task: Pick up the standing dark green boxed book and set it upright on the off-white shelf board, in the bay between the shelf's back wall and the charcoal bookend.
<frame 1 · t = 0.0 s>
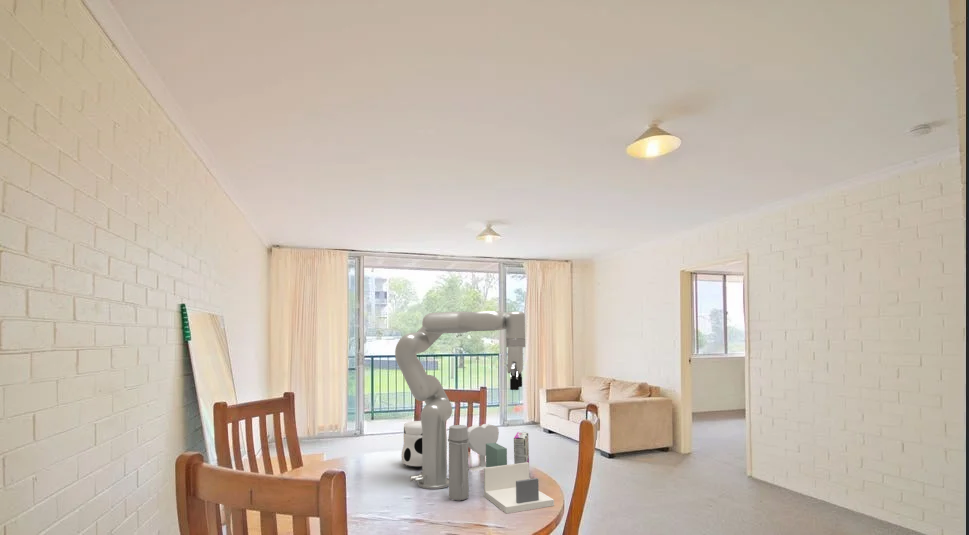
hand: (516, 388, 203), 37 cm above the table, tool pointing down, fingers open, 9 cm apart
shelf: (518, 500, 186), on the table
milk container: (421, 466, 233), on the table
candy bar box: (521, 476, 216), on the table
water bottle: (459, 499, 188), on the table
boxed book: (496, 486, 203), on the table
heart sculpture: (482, 468, 229), on the table
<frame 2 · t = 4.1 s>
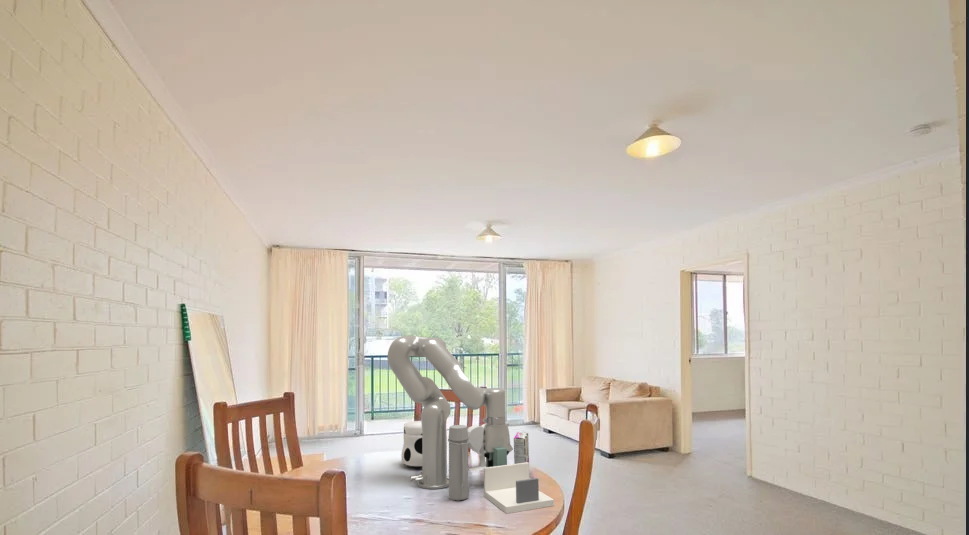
hand: (496, 469, 203), 6 cm above the table, tool pointing down, fingers closed on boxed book, 4 cm apart
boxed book: (496, 486, 203), on the table, touching gripper
everything else where it was.
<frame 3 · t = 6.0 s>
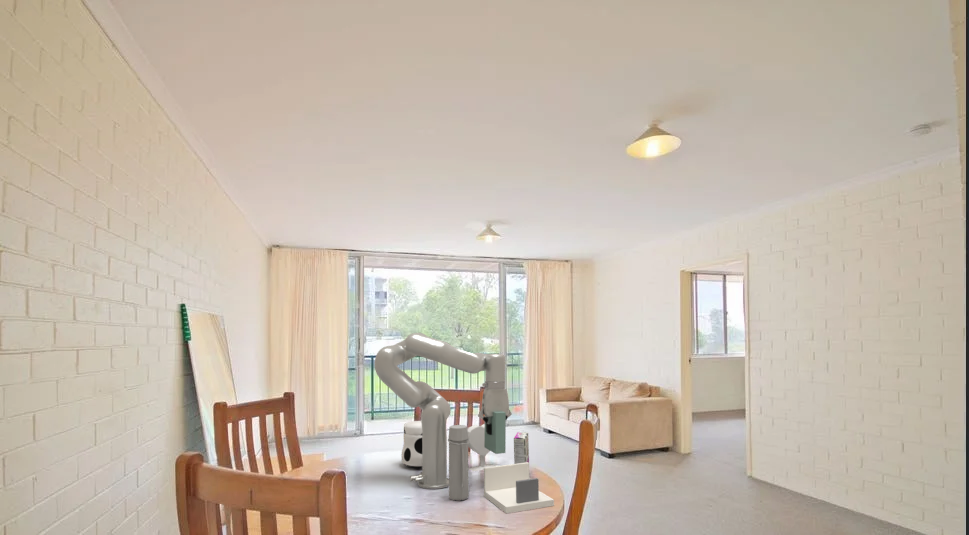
hand: (494, 433, 205), 20 cm above the table, tool pointing down, fingers closed on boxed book, 4 cm apart
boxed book: (494, 450, 204), point 13 cm above the table, touching gripper
everything else where it was.
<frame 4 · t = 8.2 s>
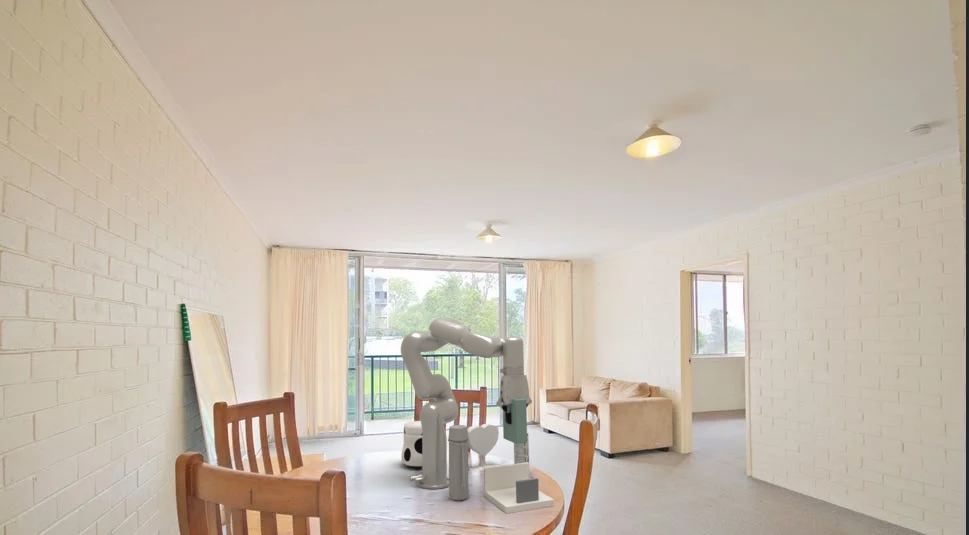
hand: (514, 422, 190), 27 cm above the table, tool pointing down, fingers closed on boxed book, 4 cm apart
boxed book: (515, 440, 190), point 20 cm above the table, touching gripper
everything else where it was.
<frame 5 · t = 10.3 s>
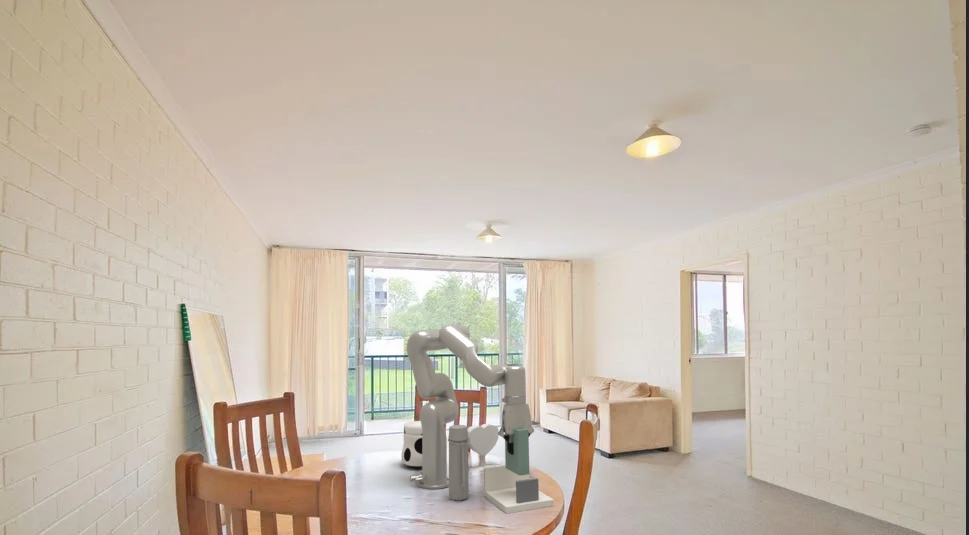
hand: (516, 452, 188), 16 cm above the table, tool pointing down, fingers closed on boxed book, 4 cm apart
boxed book: (517, 470, 188), point 10 cm above the table, touching gripper
everything else where it was.
when the fingers open (10 cm above the table, at t = 12.3 s): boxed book drops 1 cm, resting on shelf.
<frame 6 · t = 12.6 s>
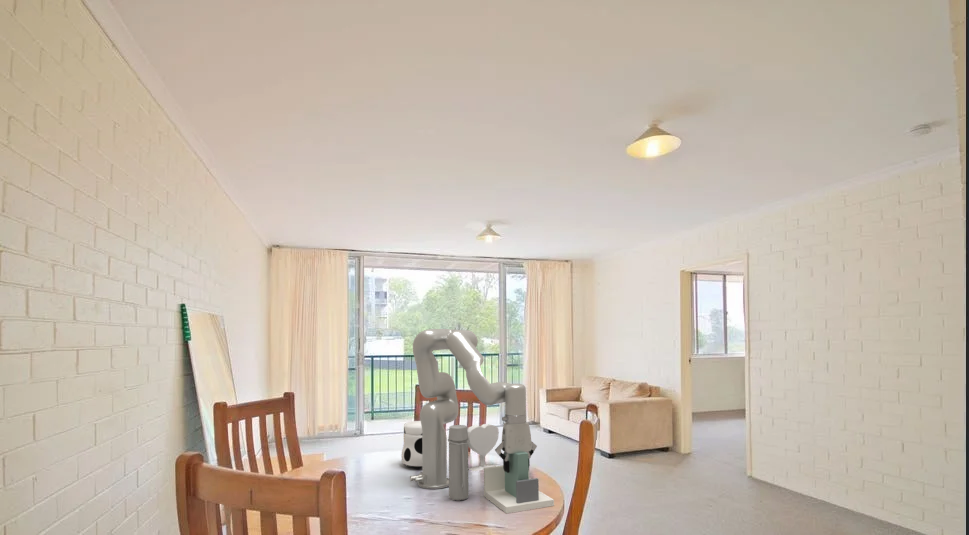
hand: (516, 470, 188), 10 cm above the table, tool pointing down, fingers open, 7 cm apart
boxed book: (516, 494, 187), point 2 cm above the table, touching shelf
everything else where it was.
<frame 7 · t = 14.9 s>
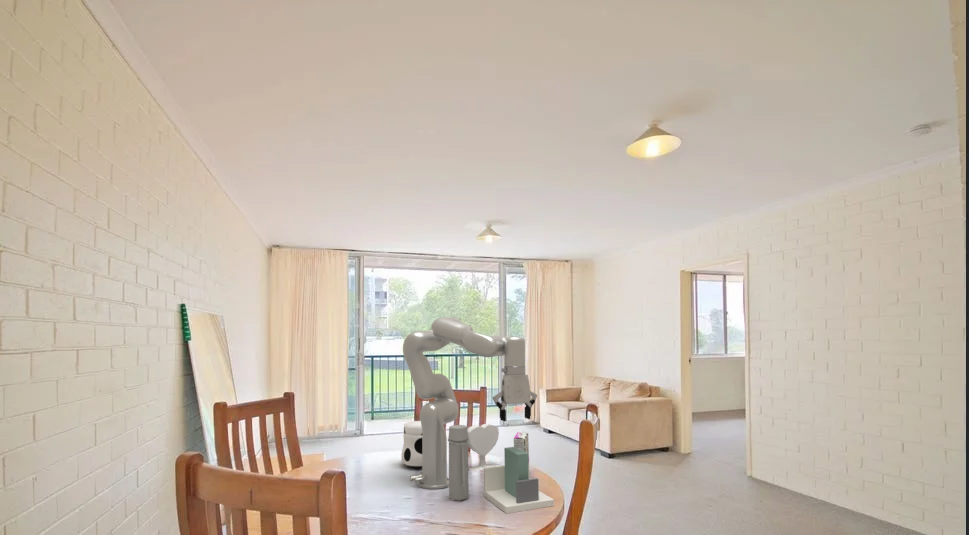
hand: (515, 419, 190), 28 cm above the table, tool pointing down, fingers open, 9 cm apart
nothing on the table moved.
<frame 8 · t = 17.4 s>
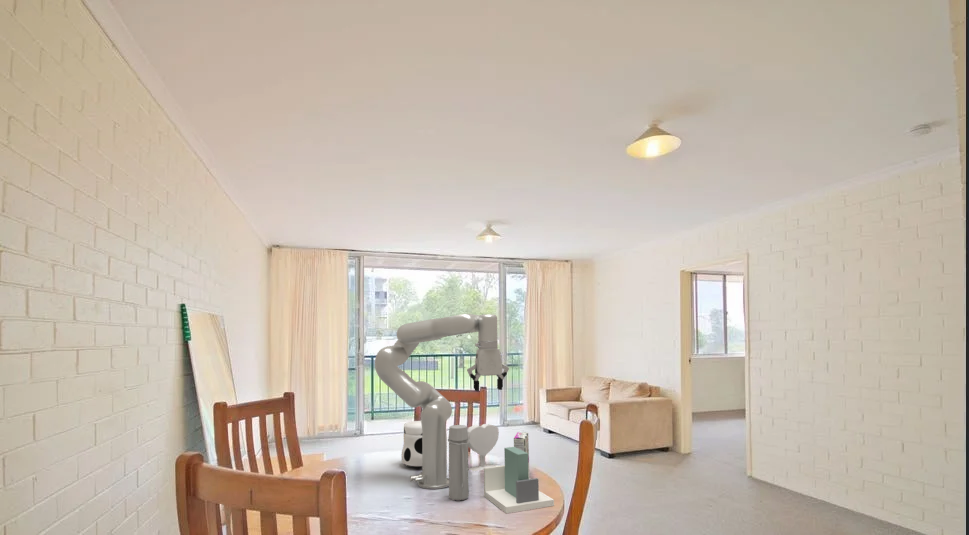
hand: (488, 390, 205), 36 cm above the table, tool pointing down, fingers open, 9 cm apart
nothing on the table moved.
at the end: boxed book inside the target area on the shelf (0.4 cm from its centre), point 2.0 cm above the shelf's base; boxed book tilted 0°; the gripper is holding nothing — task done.
